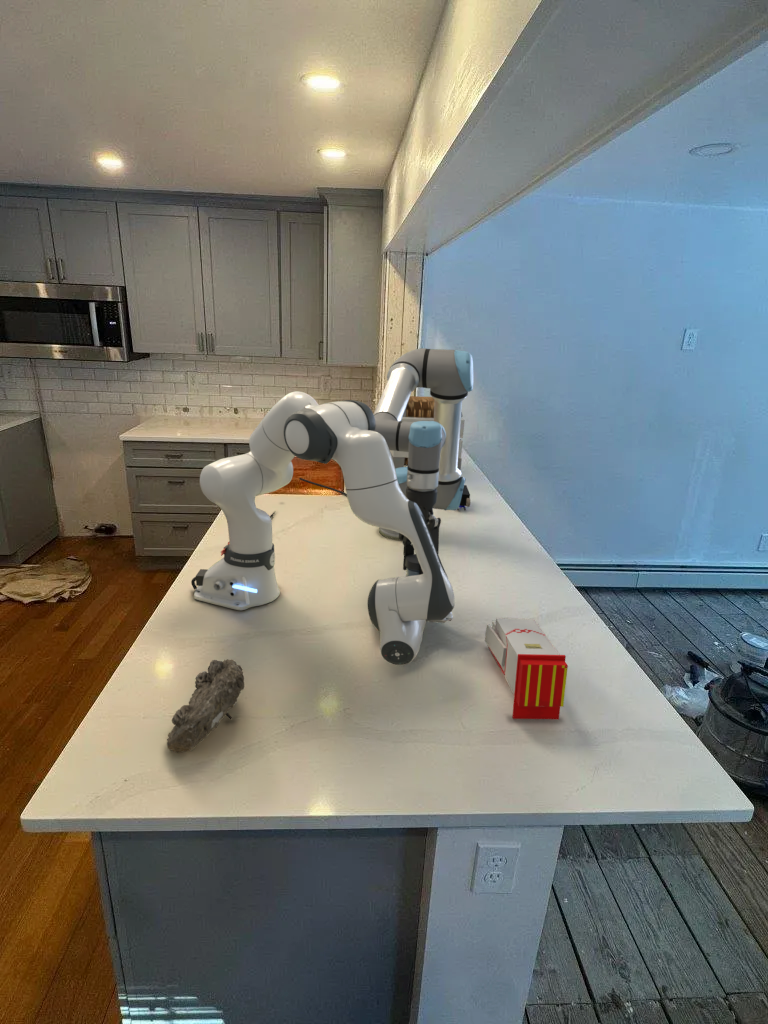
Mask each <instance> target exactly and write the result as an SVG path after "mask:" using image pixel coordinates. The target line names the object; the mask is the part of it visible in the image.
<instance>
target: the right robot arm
mask: <svg viewBox="0 0 768 1024" xmlns="http://www.w3.org/2000/svg"><path fill="white" fill-rule="evenodd" d="M473 360H474V359H473V355H472V354H471V353H470V352H469V351H466V350H458V349H443V348H441V349H440V348H425V347H421V348H416V349H412V350H410V351H407V352H405V353H404V354H401V356H399V357H398V358H396V359H395V360H394V362H393V363H391V364H390V365H391V366H390V367H389V368H388V370H387V374H386V381H387V382H386V385H385V387H384V389H383V391H382V393H381V396H380V398H379V400H378V403H377V405H376V407H375V409H374V412H373V414H374V417H375V423H376V426H375V432H378V433H380V434H381V435H382V436H383V437H384V438H385V440H386V443H387V445H388V448H389V450H393V451H403V452H408V466H404V467H400V468H396V469H395V470H396V475H397V480H398V484H399V486H400V489H401V491H402V492H403V494H404V495H405V496H406V498H407V499H408V500H410V501H413V502H415V503H416V504H417V505H418V506H419V508H420V510H421V512H422V514H423V516H424V519H425V521H426V523H427V526H428V528H429V531H430V534H431V536H432V539H433V542H434V544H435V547H436V550H437V552H438V554H439V551H440V550H439V547H440V527H441V522H442V519H441V517H436V516H435V515H434V509H435V510H443V511H458V510H457V509H460V508H459V505H460V501H461V497H462V493H463V488H464V485H466V484H465V483H466V478H465V477H463V476H462V470H461V471H460V470H459V469H458V468H457V465H458V451H459V438H460V424H461V418H462V417H461V412H463V411H462V409H463V401H464V400H465V399H466V398H467V397H468V396H469V393H470V392H473V389H474V361H473ZM417 388H422V389H430V390H429V395H430V397H432V398H433V399H434V400H435V403H434V421H417V422H403V421H401V420H402V417H403V414H404V411H405V409H406V406H407V403H408V400H409V398H410V396H411V395H412V392H414V391H415V390H416V389H417ZM460 439H461V438H460ZM299 480H300V481H302V482H305V483H308V484H311V485H314V486H318V487H321V488H324V489H327V490H330V491H334V492H336V493H339V494H342V495H343V496H345V497H347V493H346V492H344V491H342V490H339V489H336V488H333V487H330V486H328V485H324V484H321V483H318V482H313V481H311V480H308V479H305V478H302V477H299ZM378 533H379V534H380V535H381V536H382V537H385V538H387V539H389V540H395V541H401V542H402V545H403V550H402V551H403V562H402V570H403V571H406V566H405V562H406V556H408V555H411V554H415V550H414V547H413V545H412V543H411V541H410V540H409V539H408V538H407V537H406V536H404V535H403V534H401V533H398V532H396V531H392V530H389V529H384V528H379V527H378ZM421 574H423V571H422V568H421V566H420V569H419V575H421Z"/></svg>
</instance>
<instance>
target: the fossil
mask: <svg viewBox="0 0 768 1024" xmlns="http://www.w3.org/2000/svg"><path fill="white" fill-rule="evenodd" d="M243 670H244V669H243V667H242V665H240V664H237V662H236V661H235V660H234V659H232V658H231V659H227V658H226V659H224V660H223V661H222V660H217V659H212V660H211V661H210V663H209V665H208V666H207V671H201V672H199V673H198V674H197V675H196V676H195V680H194V684H195V685H194V687H195V689H194V690H193V693H192V694H191V697H190V698H189V700H188V704H184V705H182V706H181V707H180V709H177V710H176V711H175V713H174V715H173V716H172V718H171V723H172V724H173V727H172V730H171V731H170V732H168V734H167V738H166V741H167V742H166V745H167V749H168V750H169V751H173V752H174V753H176V754H178V753H182V752H188V751H189V752H192V751H193V750H195V748H196V747H197V746H199V744H200V743H201V742H203V741H204V740H205V739H206V738H207V737H208V736H209V735H210V734H211V733H212V732H214V730H215V729H217V727H218V726H219V724H220V722H221V721H222V720H223V719H224V718H225V716H226V717H227V719H229V720H233V717H232V715H230V714H229V710H230V709H231V708H234V706H235V704H236V703H237V702H238V699H239V697H240V695H241V693H242V691H243V690H245V689H244V688H245V675H244V671H243Z"/></svg>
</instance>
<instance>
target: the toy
mask: <svg viewBox="0 0 768 1024" xmlns="http://www.w3.org/2000/svg"><path fill="white" fill-rule="evenodd" d="M484 642H485V643H486V645H487V646H488V650H489V651H490V654H491V655H492V657H493V659H494V660H495V662H496V664H497V666H498V667H499V669H500V671H501V672H502V675H503V676H504V678H505V680H506V682H507V684H508V686H509V688H510V691H511V693H512V694H513V704H512V705H513V706H512V715H511V717H512V719H513V720H560V714H561V708H563V707H564V704H565V695H566V685H567V677H568V668H569V666H568V663H567V662H566V657H567V656H566V654H560V653H559V651H558V650H557V648H556V647H555V646H554V645H553V643H552V642H551V640H550V639H549V638H548V636H547V635H546V634H545V632H544V631H543V629H542V628H541V627H540V625H539V623H537V621H536V620H535V619H534V618H523V617H522V618H521V617H520V618H519V617H516V618H515V617H496V618H495V620H492V622H491V624H490V623H486V629H485V637H484Z"/></svg>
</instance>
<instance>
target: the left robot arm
mask: <svg viewBox="0 0 768 1024" xmlns="http://www.w3.org/2000/svg"><path fill="white" fill-rule="evenodd" d="M375 426H376V423H375V417H374V412H373V410H372V409H371V407H370V406H368V404H366V403H364V402H363V401H360V400H354V399H345V400H339V401H331V402H325V403H322V404H319V403H318V402H317V400H316V399H315V398H314V397H312V396H311V395H310V394H308V393H307V392H305V391H304V392H303V391H296V390H295V391H291V392H289V393H287V394H286V395H284V396H282V398H280V399H279V400H278V401H276V403H275V404H274V405H273V406H272V407H271V408H270V409H269V410H268V411H267V412H266V414H265V415H264V416H263V417H262V419H261V420H260V422H259V424H258V425H257V426H256V427H255V429H254V430H253V432H252V433H251V434H250V437H249V439H248V444H249V450H250V451H248V452H246V453H243V454H239V455H234V456H228V457H224V458H220V459H217V460H215V461H212V462H211V463H209V464H207V465H205V466H204V467H203V468H202V469H201V471H200V475H199V487H200V490H201V492H202V494H203V495H204V497H205V498H206V499H207V500H208V501H209V502H211V503H213V504H215V505H216V506H218V508H219V509H220V510H221V511H222V512H223V514H224V516H225V519H226V523H227V530H228V531H227V532H228V540H229V541H227V544H226V545H225V546H224V547H223V549H222V550H221V551H220V556H223V557H222V558H220V559H219V560H218V561H216V562H215V563H214V564H212V565H211V566H210V567H209V568H208V569H207V568H206V569H204V568H203V569H202V568H200V569H199V570H198V572H197V573H196V575H195V576H194V577H193V578H192V579H191V581H190V584H191V586H192V589H193V590H194V595H193V598H194V599H195V600H196V601H200V602H205V603H207V604H211V605H212V604H213V605H216V606H220V607H222V608H223V607H224V608H228V609H232V610H235V611H245V610H247V609H251V608H253V607H258V606H264V605H267V604H270V603H271V602H273V601H275V600H276V599H277V598H278V597H279V596H280V594H281V589H280V587H279V585H278V584H279V583H278V581H277V577H276V570H275V564H276V553H275V552H276V551H275V544H274V543H273V519H272V518H270V516H271V515H269V513H268V512H266V511H265V510H263V509H261V508H258V507H257V505H256V497H258V496H259V497H260V496H262V495H266V494H270V493H274V492H276V491H278V490H280V489H282V488H284V487H285V486H287V485H288V484H291V483H290V482H291V481H292V479H293V476H294V464H293V462H292V461H293V460H294V458H295V457H296V458H298V459H300V460H304V461H311V462H318V463H320V464H325V465H326V464H328V463H329V462H330V461H331V460H333V461H334V462H336V464H338V465H339V467H340V470H341V473H342V478H343V482H344V488H345V493H346V494H347V496H346V497H347V501H348V504H349V507H350V510H351V512H352V513H353V515H354V516H355V517H356V518H357V519H359V520H360V521H361V522H363V523H365V524H367V525H369V526H372V527H376V528H378V529H379V528H384V529H389V530H392V531H396V532H398V533H401V534H403V535H404V536H406V537H407V538H408V539H409V540H410V541H411V545H413V547H414V554H416V555H417V558H418V560H419V563H420V566H421V568H422V571H423V574H421V575H414V576H406V575H405V576H395V577H386V578H380V579H377V580H376V581H374V583H373V585H372V586H371V588H370V590H369V592H368V596H367V612H368V616H369V620H370V622H371V623H372V625H373V626H374V627H375V629H376V630H377V631H378V632H379V636H380V637H379V639H380V640H379V651H380V655H381V658H383V659H384V661H385V662H387V663H388V664H391V665H394V666H401V665H402V666H403V665H408V664H410V663H411V662H412V661H414V659H415V658H416V657H417V655H418V653H419V651H420V648H421V645H422V641H423V637H424V635H423V634H424V633H423V632H424V631H425V627H426V624H427V622H430V623H438V624H444V623H447V622H451V621H453V616H454V615H453V610H454V608H455V603H456V602H455V601H456V596H455V592H454V587H453V585H452V582H451V580H450V579H449V577H448V575H447V572H446V570H445V568H444V566H443V563H442V560H441V558H440V555H439V553H438V552H437V550H436V547H435V544H434V542H433V539H432V536H431V534H430V531H429V528H428V526H427V523H426V521H425V519H424V516H423V514H422V512H421V510H420V508H419V506H418V505H417V504H416V503H415V502H413V501H410V500H408V499H407V498H406V496H405V495H404V494H403V492H402V491H401V489H400V486H399V484H398V480H397V475H396V470H395V466H394V463H393V459H392V456H391V453H390V450H389V448H388V445H387V443H386V440H385V438H384V437H383V436H382V435H381V434H380V433H378V432H375Z"/></svg>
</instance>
